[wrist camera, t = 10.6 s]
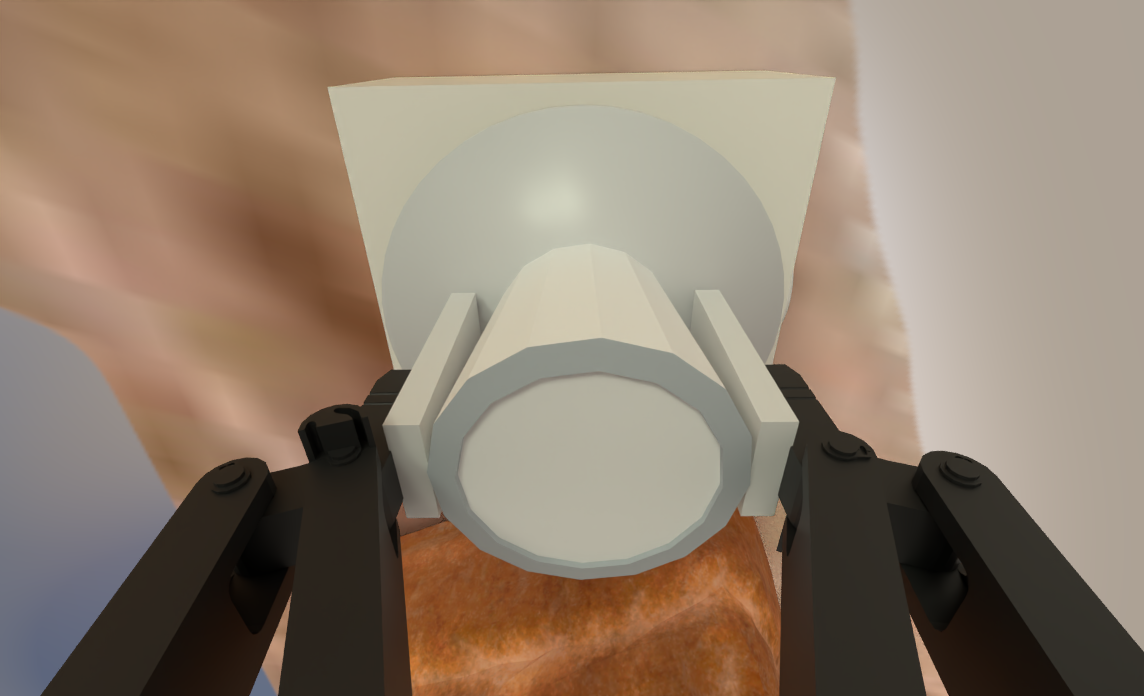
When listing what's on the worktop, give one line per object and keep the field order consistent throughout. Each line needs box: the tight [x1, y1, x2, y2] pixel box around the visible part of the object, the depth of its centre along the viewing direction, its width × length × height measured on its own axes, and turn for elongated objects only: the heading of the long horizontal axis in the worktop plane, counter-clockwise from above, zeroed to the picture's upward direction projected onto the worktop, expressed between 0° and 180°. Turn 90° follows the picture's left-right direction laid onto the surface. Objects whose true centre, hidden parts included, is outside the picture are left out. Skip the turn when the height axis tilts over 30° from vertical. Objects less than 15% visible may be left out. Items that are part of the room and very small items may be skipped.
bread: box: [400, 507, 781, 696], centre depth 27 cm, size 14×26×16 cm, turn 112°
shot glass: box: [427, 243, 752, 580], centre depth 14 cm, size 7×7×7 cm
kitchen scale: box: [328, 70, 836, 370], centre depth 20 cm, size 15×14×7 cm
